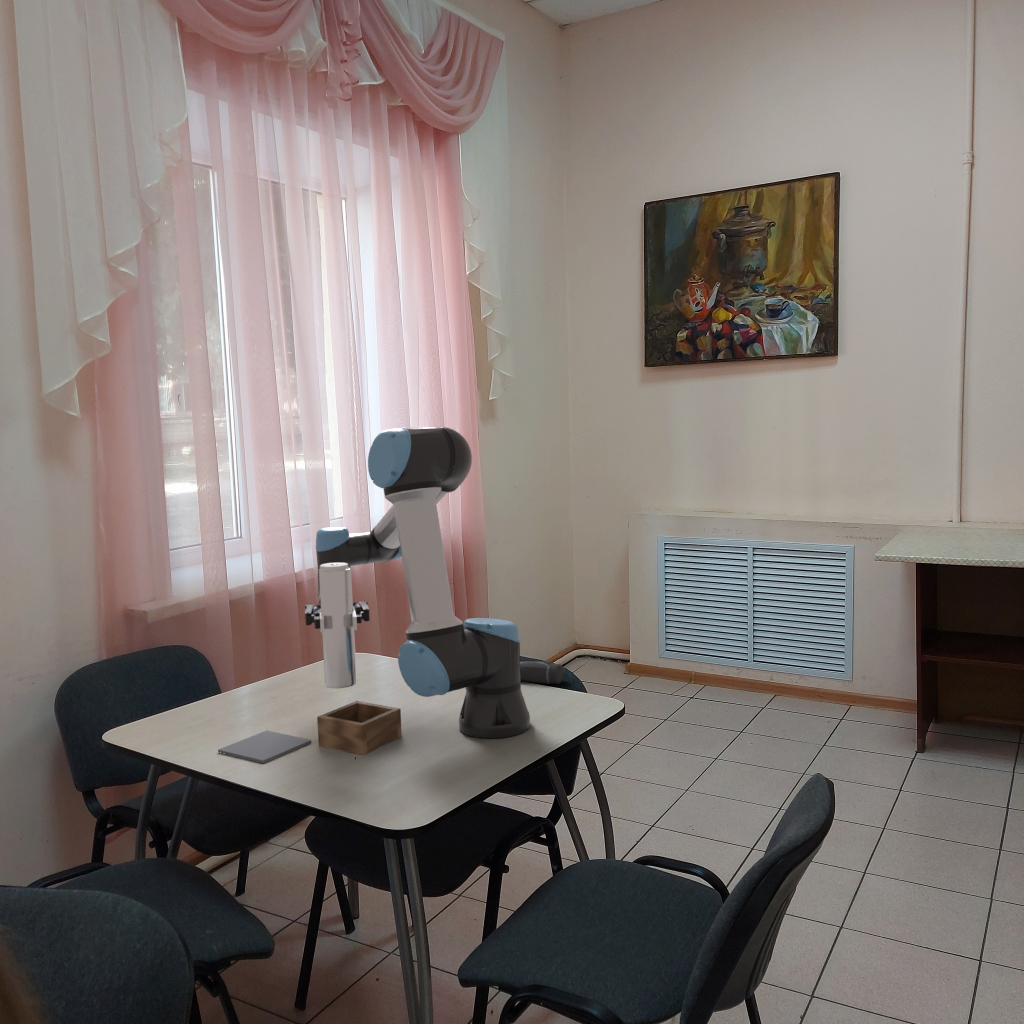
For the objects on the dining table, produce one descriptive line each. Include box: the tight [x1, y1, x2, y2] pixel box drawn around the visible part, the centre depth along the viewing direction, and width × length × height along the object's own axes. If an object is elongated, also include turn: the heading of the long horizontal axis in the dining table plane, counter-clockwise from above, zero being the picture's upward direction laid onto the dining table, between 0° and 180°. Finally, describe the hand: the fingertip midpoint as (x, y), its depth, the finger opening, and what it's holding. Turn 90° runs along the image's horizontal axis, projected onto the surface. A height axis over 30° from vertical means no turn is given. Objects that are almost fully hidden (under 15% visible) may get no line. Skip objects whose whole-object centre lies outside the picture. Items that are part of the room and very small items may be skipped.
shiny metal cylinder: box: [319, 563, 358, 689], centre depth 187 cm, size 6×6×25 cm
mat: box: [217, 730, 312, 764], centre depth 187 cm, size 13×13×1 cm
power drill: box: [520, 660, 564, 685], centre depth 227 cm, size 5×19×20 cm
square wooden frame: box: [316, 700, 403, 756], centre depth 189 cm, size 12×12×6 cm
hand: (338, 624), depth 182 cm, fingers closed on shiny metal cylinder, 6 cm apart
